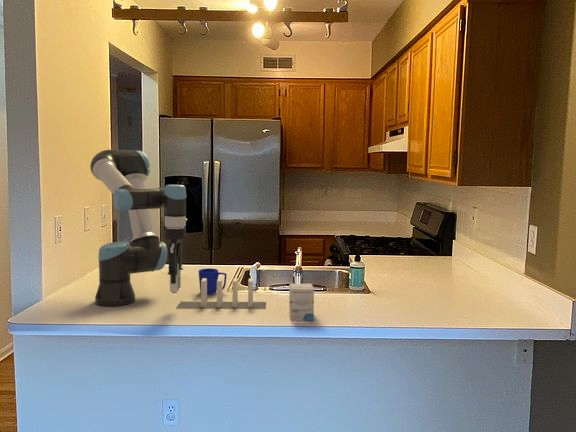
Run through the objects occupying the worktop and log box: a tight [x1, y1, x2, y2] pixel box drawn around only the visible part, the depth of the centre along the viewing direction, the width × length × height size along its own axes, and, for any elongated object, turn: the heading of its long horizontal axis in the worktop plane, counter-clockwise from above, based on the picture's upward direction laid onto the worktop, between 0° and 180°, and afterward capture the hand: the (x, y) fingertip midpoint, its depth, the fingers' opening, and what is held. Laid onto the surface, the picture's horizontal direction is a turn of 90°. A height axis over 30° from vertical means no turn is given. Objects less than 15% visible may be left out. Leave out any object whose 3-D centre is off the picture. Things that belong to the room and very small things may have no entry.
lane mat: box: [175, 300, 267, 310], centre depth 200 cm, size 34×10×1 cm, turn 91°
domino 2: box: [216, 277, 223, 307], centre depth 200 cm, size 2×5×10 cm, turn 1°
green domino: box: [171, 263, 180, 294], centre depth 190 cm, size 2×5×10 cm, turn 1°
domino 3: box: [232, 278, 239, 307], centre depth 200 cm, size 2×5×10 cm, turn 1°
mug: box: [198, 267, 228, 295], centre depth 219 cm, size 8×12×10 cm
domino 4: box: [247, 278, 254, 307], centre depth 200 cm, size 2×5×10 cm, turn 1°
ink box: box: [288, 283, 315, 322], centre depth 187 cm, size 9×8×12 cm
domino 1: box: [200, 278, 208, 307], centre depth 200 cm, size 2×5×10 cm, turn 1°
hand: (175, 289), depth 191 cm, fingers closed on green domino, 5 cm apart
